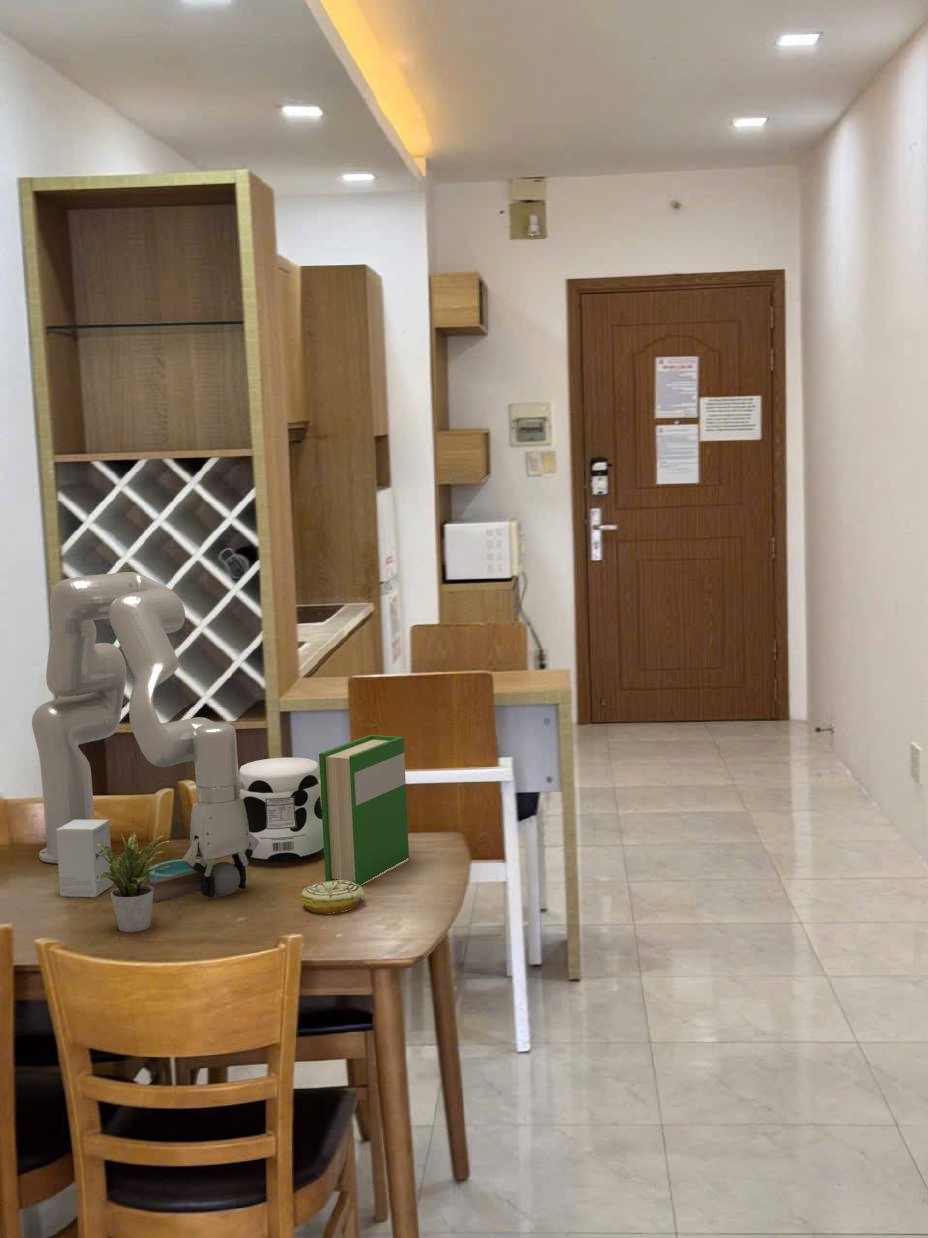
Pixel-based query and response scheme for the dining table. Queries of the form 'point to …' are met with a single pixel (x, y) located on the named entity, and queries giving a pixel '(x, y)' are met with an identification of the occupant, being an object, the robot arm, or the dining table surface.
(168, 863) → the teal dish
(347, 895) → the decorated donut
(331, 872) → the hardback book
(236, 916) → the dining table surface
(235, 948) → the dining table surface
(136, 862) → the house plant
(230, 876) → the charcoal ball
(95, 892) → the supplement box
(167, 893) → the brown wooden bar
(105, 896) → the dining table surface
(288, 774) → the milk container
